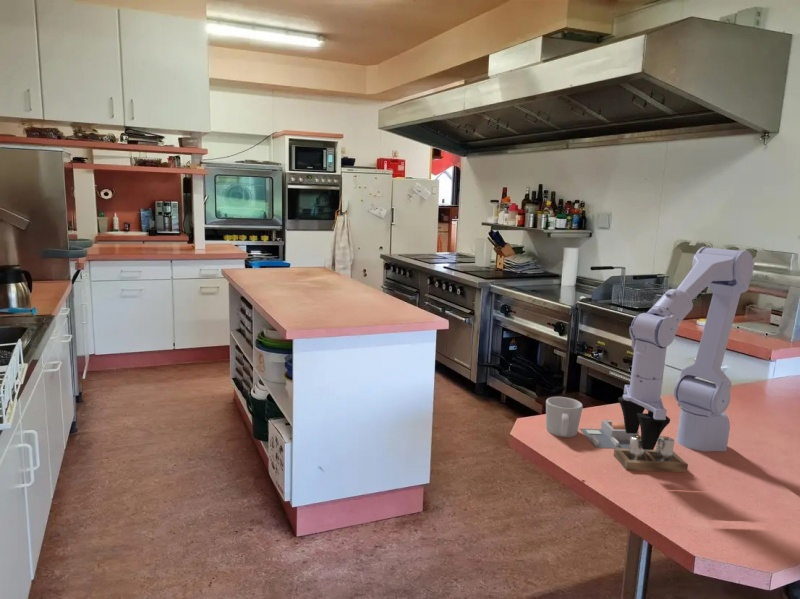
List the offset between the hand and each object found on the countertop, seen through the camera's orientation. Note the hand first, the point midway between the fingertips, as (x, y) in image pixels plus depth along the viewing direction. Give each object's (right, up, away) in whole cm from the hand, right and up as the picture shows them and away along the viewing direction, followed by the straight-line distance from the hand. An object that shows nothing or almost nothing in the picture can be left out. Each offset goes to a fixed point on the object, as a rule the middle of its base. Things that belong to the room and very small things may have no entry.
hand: (639, 440), depth 115 cm
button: (+2, -2, +15) cm, 15 cm away
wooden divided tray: (+2, -6, +1) cm, 7 cm away
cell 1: (0, -5, +1) cm, 5 cm away
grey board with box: (-1, -4, +13) cm, 13 cm away
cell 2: (+5, -5, +1) cm, 7 cm away
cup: (-11, -3, +15) cm, 19 cm away
